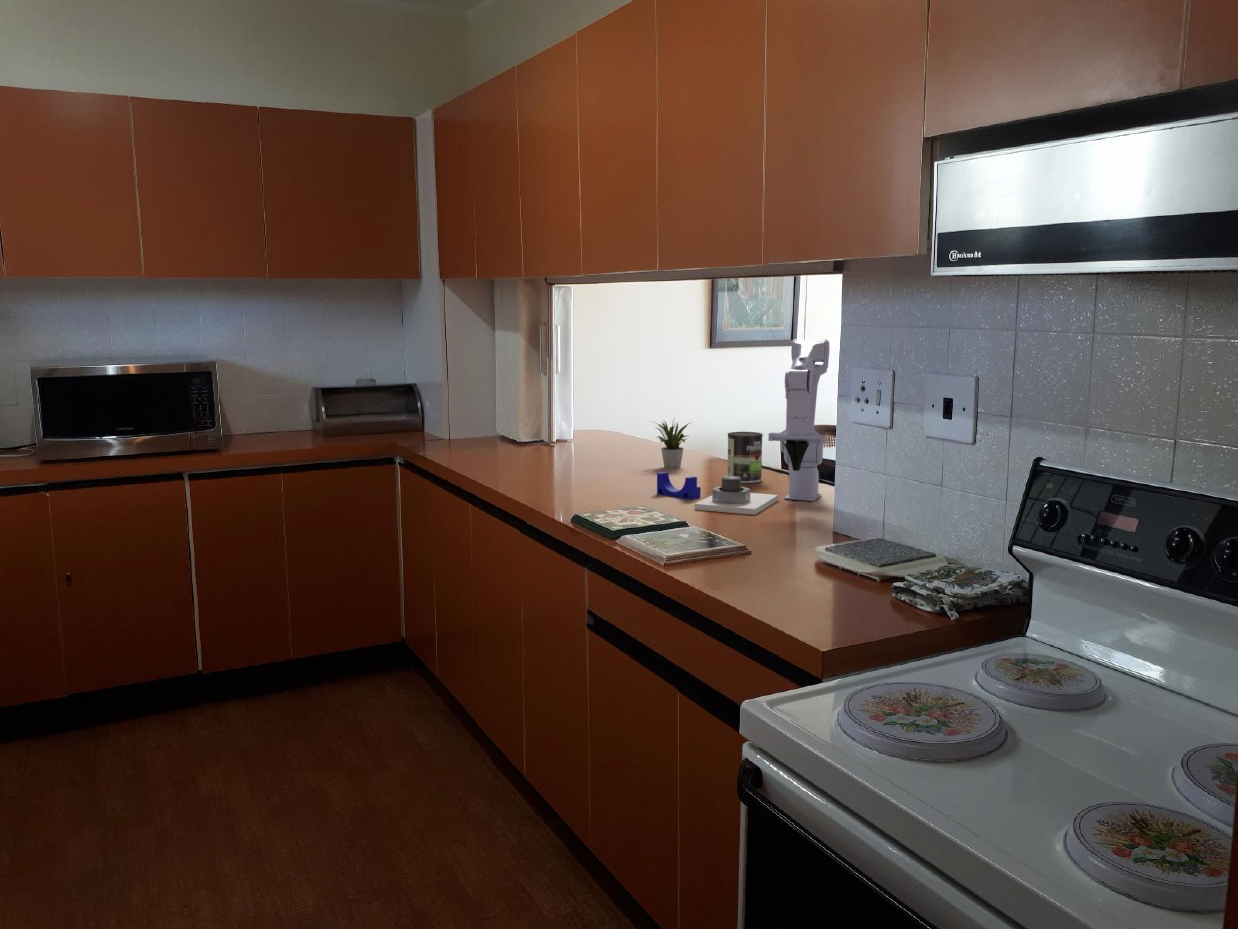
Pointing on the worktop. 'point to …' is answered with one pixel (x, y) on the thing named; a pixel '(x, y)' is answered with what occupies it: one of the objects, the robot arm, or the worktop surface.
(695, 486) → the blue u-shaped cradle block
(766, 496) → the socket board
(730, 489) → the dark gray cylinder
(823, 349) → the robot arm
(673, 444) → the house plant
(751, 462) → the coffee can
